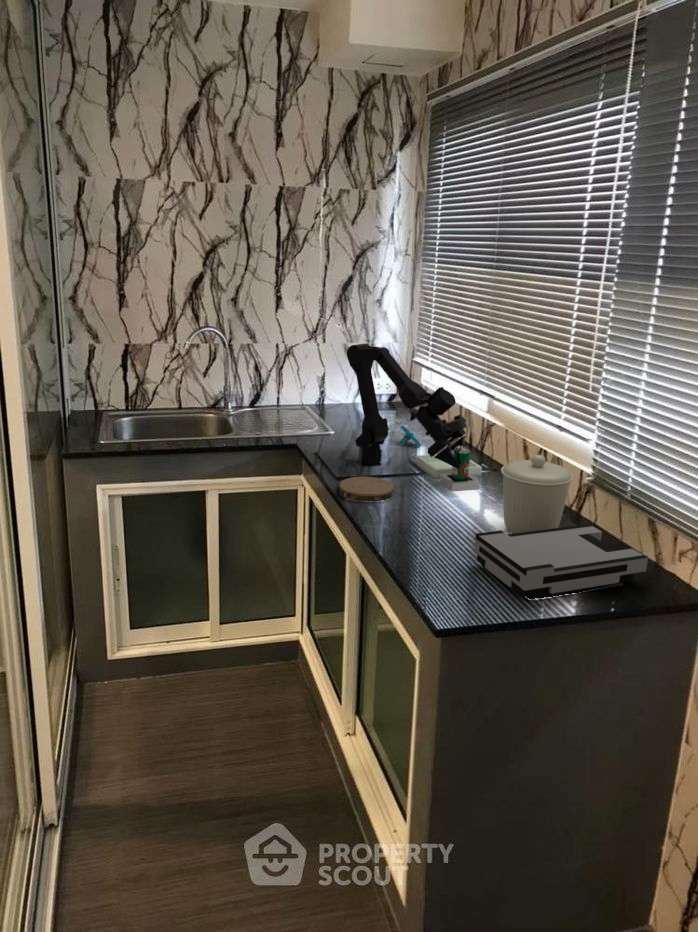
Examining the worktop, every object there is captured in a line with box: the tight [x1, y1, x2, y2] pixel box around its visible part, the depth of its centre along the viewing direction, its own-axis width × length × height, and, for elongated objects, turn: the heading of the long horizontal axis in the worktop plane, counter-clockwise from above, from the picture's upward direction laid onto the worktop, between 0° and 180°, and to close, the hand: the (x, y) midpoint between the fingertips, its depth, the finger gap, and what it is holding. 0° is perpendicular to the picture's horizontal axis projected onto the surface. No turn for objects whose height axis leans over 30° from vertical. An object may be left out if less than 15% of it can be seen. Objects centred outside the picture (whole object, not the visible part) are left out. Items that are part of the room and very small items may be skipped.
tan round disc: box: [338, 476, 395, 501], centre depth 224 cm, size 16×16×3 cm
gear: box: [399, 425, 422, 447], centre depth 275 cm, size 11×6×10 cm
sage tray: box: [415, 454, 483, 480], centre depth 249 cm, size 16×16×3 cm
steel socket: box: [439, 473, 480, 492], centre depth 234 cm, size 9×9×2 cm
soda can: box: [451, 445, 471, 482], centre depth 233 cm, size 5×5×12 cm
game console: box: [473, 523, 649, 599], centre depth 175 cm, size 21×32×8 cm, turn 111°
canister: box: [500, 454, 575, 534], centre depth 197 cm, size 18×18×21 cm
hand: (464, 464), depth 232 cm, fingers open, 9 cm apart
